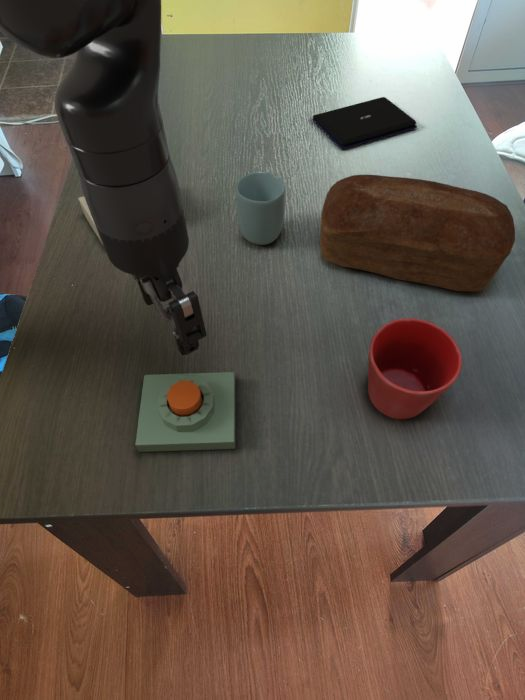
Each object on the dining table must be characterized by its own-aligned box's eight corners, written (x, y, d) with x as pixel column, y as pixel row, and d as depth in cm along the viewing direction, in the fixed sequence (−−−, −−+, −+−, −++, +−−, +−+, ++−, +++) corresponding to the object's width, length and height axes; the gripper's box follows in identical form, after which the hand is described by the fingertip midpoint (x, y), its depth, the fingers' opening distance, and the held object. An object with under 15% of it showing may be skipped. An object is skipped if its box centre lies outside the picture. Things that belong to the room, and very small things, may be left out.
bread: (489, 307, 71) (526, 247, 61) (309, 269, 76) (317, 207, 65) (491, 247, 78) (525, 184, 68) (328, 215, 83) (337, 152, 73)
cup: (274, 256, 77) (276, 207, 69) (231, 245, 79) (227, 195, 71) (289, 226, 81) (292, 177, 73) (248, 216, 83) (246, 166, 75)
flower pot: (339, 386, 63) (350, 345, 55) (397, 348, 67) (415, 304, 59) (394, 446, 58) (415, 410, 50) (454, 401, 62) (482, 361, 54)
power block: (139, 452, 58) (131, 439, 54) (147, 382, 63) (141, 367, 60) (235, 449, 58) (233, 435, 55) (235, 380, 64) (233, 364, 60)
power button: (168, 416, 57) (165, 409, 55) (170, 387, 59) (168, 380, 57) (201, 415, 57) (199, 408, 55) (202, 386, 59) (200, 379, 57)
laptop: (306, 113, 102) (307, 104, 101) (389, 99, 106) (391, 90, 104) (332, 153, 94) (334, 144, 92) (422, 137, 97) (425, 128, 95)
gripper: (218, 237, 37) (232, 351, 50) (141, 152, 44) (171, 272, 57) (132, 276, 35) (170, 385, 48) (64, 180, 41) (115, 299, 55)
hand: (171, 324), depth 53 cm, fingers open, 8 cm apart
